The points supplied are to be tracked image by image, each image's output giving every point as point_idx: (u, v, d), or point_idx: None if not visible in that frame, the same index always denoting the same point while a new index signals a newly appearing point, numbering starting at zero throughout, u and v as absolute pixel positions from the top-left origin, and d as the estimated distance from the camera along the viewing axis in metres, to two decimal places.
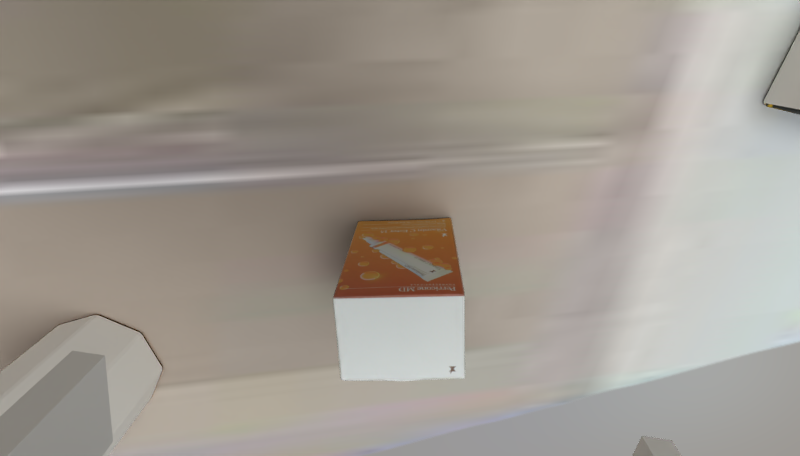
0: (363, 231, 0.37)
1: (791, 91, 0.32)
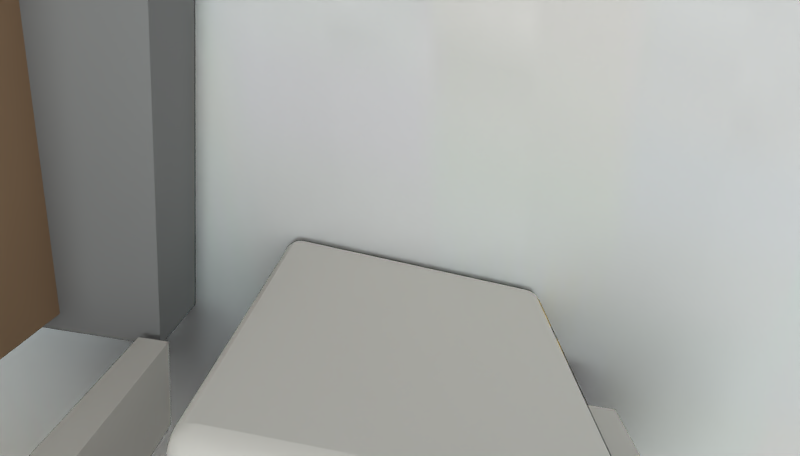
0: None
1: None
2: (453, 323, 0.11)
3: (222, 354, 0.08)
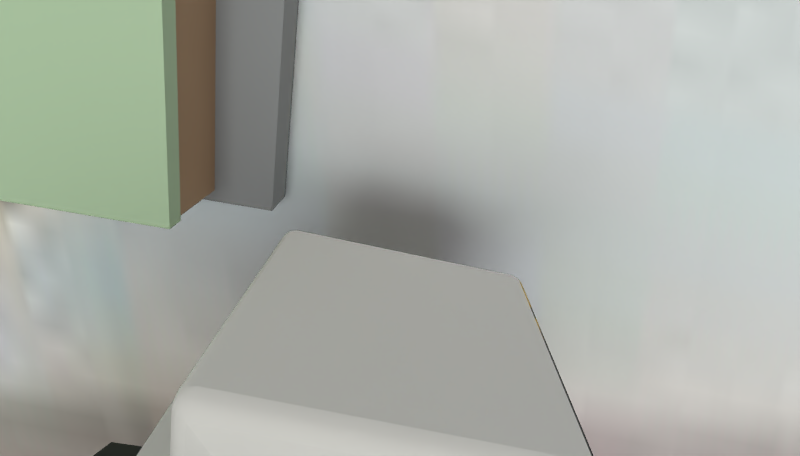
0: None
1: None
2: (437, 303, 0.11)
3: (221, 329, 0.09)
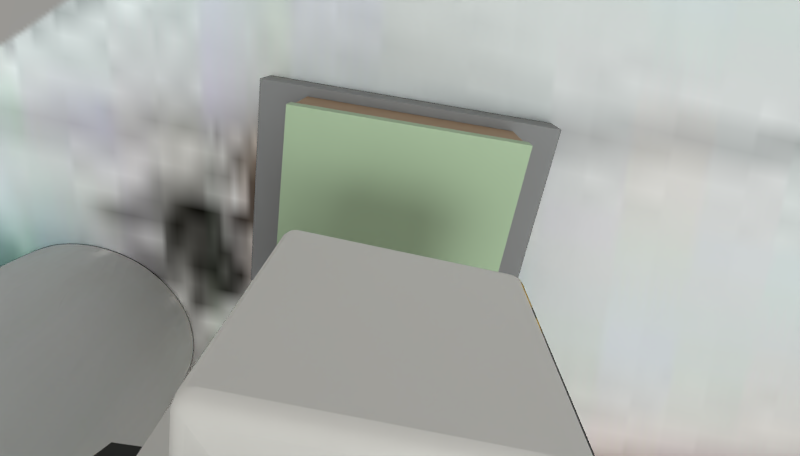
0: None
1: None
2: (437, 303, 0.11)
3: (220, 329, 0.09)
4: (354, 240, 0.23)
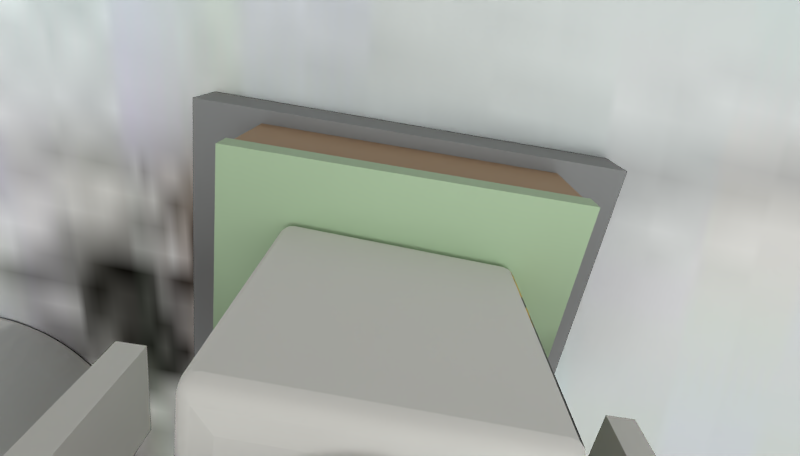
0: None
1: None
2: (430, 294, 0.12)
3: (221, 319, 0.09)
4: None
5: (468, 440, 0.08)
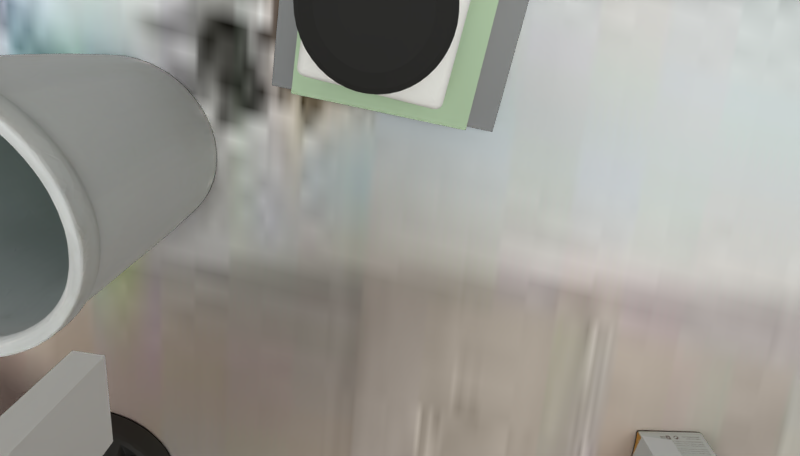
0: None
1: None
2: None
3: None
4: None
5: None
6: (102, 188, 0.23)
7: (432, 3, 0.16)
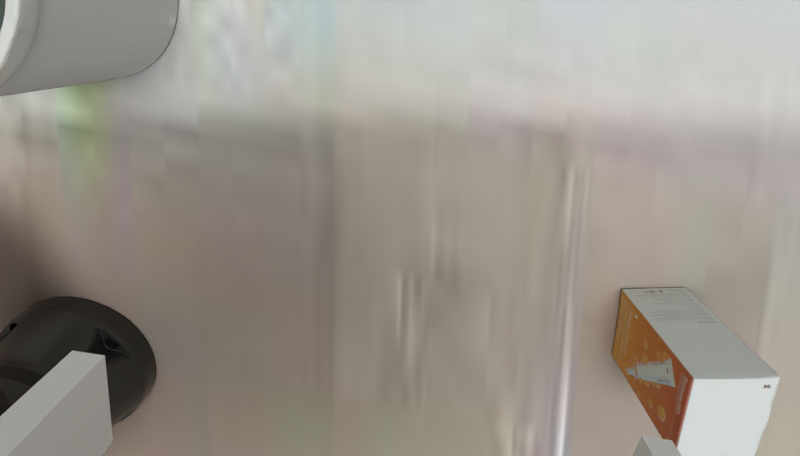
0: (621, 364, 0.46)
1: None
2: None
3: None
4: None
5: None
6: None
7: None
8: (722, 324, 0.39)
